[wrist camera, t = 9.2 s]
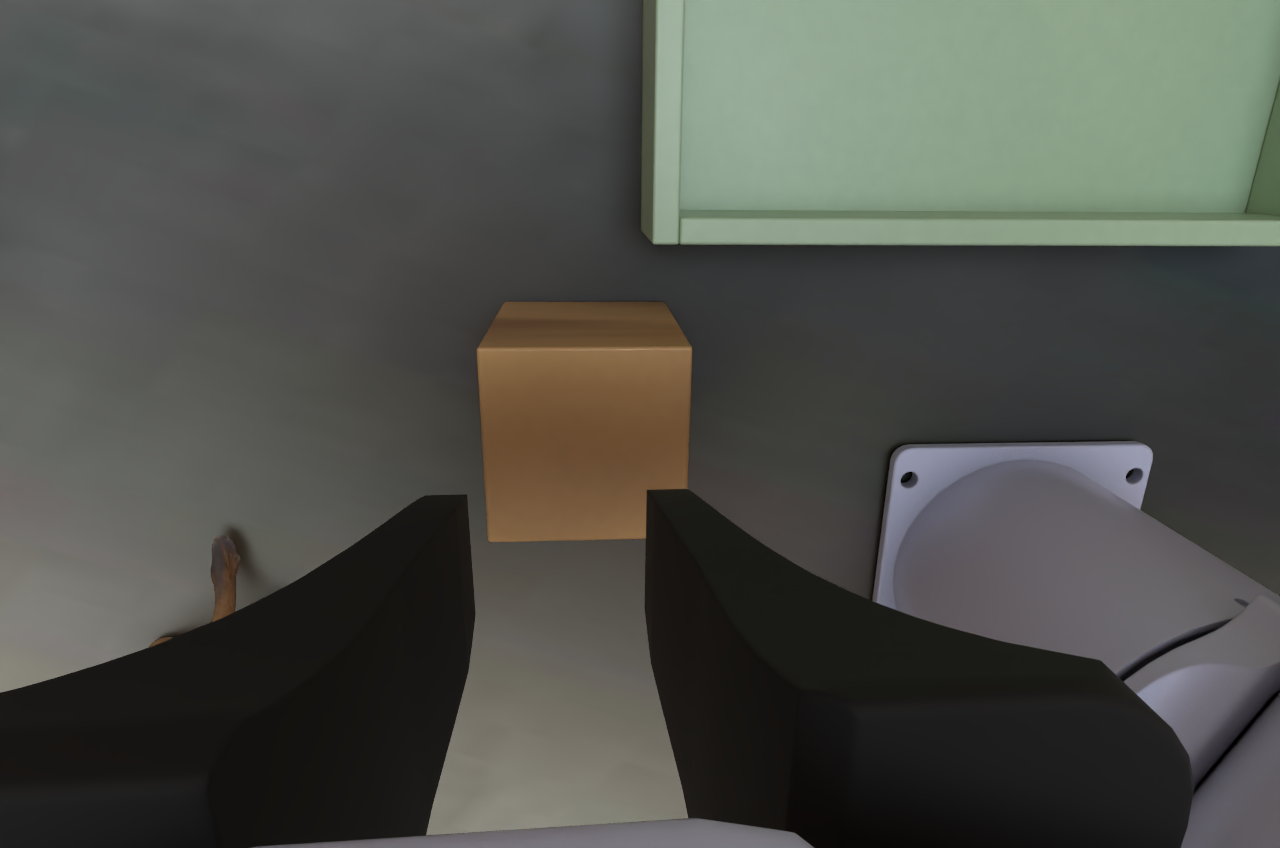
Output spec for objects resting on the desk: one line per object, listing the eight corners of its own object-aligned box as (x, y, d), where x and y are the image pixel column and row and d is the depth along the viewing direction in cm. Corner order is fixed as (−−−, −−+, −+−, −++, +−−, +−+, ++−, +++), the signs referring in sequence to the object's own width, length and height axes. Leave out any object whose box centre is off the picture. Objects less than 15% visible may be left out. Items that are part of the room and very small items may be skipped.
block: (662, 451, 22) (686, 539, 17) (510, 453, 22) (487, 543, 17) (665, 301, 21) (693, 346, 15) (503, 301, 20) (475, 347, 15)
